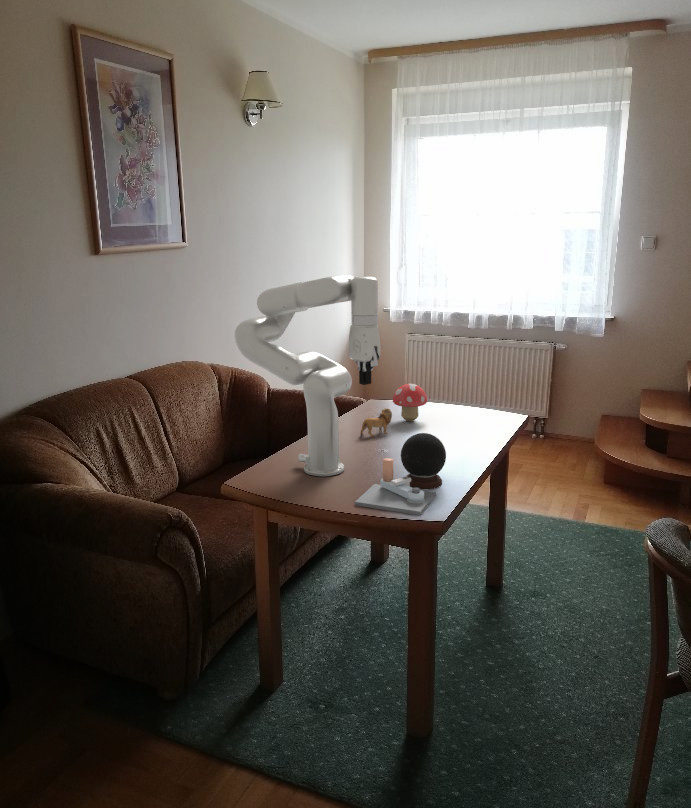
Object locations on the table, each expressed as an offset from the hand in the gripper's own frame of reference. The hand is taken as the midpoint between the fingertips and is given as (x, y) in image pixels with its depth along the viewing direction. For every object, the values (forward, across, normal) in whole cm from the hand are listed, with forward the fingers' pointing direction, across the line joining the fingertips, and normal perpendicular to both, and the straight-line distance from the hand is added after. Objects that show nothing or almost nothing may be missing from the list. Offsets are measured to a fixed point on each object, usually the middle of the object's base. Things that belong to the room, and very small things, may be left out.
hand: (365, 383), depth 197 cm
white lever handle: (+28, +18, -1) cm, 33 cm away
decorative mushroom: (+29, -41, +51) cm, 72 cm away
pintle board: (+29, +19, -4) cm, 35 cm away
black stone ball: (+29, +13, +11) cm, 34 cm away
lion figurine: (+29, -36, +30) cm, 55 cm away
